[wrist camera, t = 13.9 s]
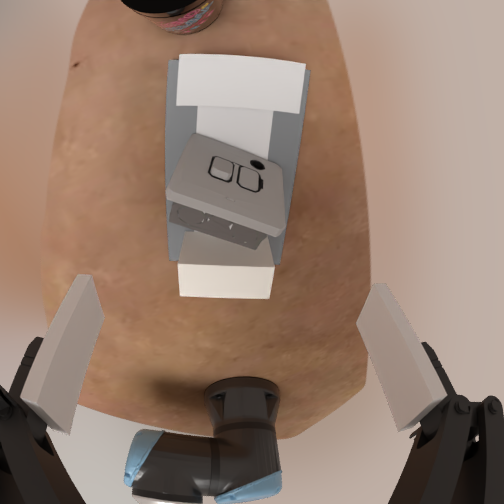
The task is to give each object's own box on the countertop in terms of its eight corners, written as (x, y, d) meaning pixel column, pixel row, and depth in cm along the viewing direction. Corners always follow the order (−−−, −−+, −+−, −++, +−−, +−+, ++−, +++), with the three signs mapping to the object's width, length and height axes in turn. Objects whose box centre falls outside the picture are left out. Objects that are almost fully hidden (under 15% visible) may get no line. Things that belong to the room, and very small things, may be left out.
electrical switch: (282, 165, 28) (298, 213, 21) (260, 206, 31) (266, 263, 24) (192, 130, 25) (171, 166, 18) (176, 175, 28) (153, 227, 21)
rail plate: (278, 258, 36) (288, 299, 30) (170, 254, 34) (160, 295, 28) (307, 70, 24) (331, 69, 18) (171, 60, 22) (152, 55, 16)
